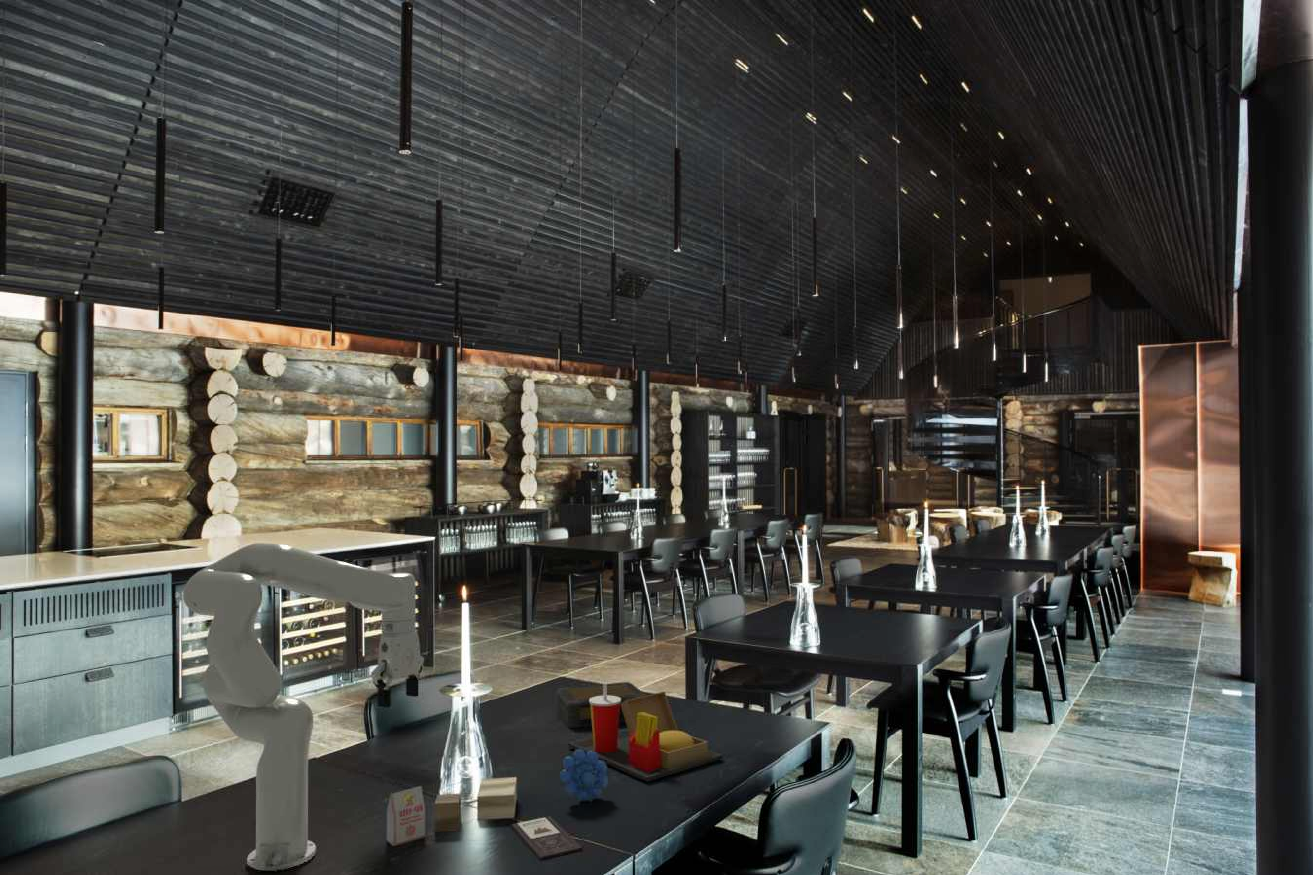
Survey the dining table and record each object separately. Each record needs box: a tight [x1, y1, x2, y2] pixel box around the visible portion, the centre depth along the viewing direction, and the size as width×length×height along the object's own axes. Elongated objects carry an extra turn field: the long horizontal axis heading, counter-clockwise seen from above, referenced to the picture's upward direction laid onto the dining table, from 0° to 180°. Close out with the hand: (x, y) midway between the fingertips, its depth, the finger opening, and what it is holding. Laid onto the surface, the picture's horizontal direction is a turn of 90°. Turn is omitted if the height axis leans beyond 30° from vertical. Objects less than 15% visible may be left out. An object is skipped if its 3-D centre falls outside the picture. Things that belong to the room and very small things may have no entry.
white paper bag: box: [386, 785, 426, 847], centre depth 179 cm, size 4×7×10 cm, turn 129°
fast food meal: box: [567, 682, 724, 782], centre depth 230 cm, size 26×35×18 cm
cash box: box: [555, 681, 646, 729], centre depth 267 cm, size 25×20×8 cm
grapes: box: [559, 749, 609, 802], centre depth 197 cm, size 12×7×12 cm, turn 114°
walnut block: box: [434, 793, 462, 833], centre depth 184 cm, size 5×5×6 cm
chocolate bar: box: [510, 815, 584, 861], centre depth 178 cm, size 9×1×18 cm
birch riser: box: [476, 776, 518, 821], centre depth 194 cm, size 11×8×5 cm
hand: (398, 701), depth 198 cm, fingers open, 9 cm apart
